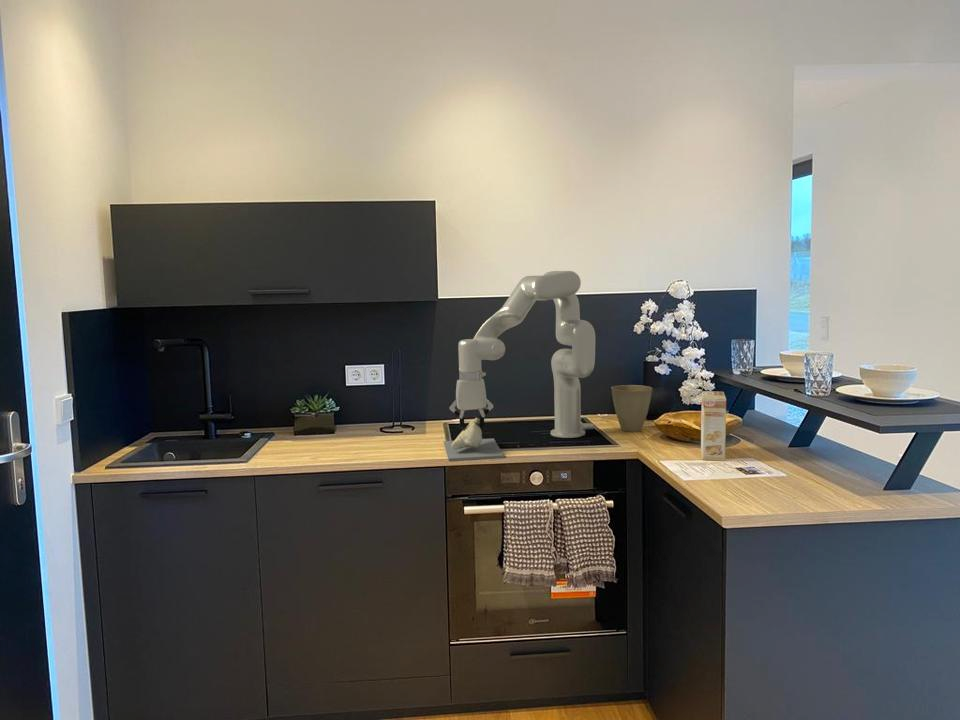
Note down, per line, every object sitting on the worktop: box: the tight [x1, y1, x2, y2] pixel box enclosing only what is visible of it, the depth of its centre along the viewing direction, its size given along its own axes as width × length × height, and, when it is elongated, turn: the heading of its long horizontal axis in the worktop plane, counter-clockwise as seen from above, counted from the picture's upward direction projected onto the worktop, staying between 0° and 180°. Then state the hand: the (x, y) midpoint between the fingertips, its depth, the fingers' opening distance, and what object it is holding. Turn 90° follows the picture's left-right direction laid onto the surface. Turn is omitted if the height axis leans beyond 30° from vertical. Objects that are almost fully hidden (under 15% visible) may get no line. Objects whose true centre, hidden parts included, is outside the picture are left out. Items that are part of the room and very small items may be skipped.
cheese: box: [452, 417, 483, 450], centre depth 234 cm, size 15×7×15 cm
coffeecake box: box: [700, 390, 727, 462], centre depth 221 cm, size 15×7×20 cm, turn 164°
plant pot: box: [610, 384, 653, 433], centre depth 259 cm, size 15×15×16 cm
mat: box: [443, 438, 505, 462], centre depth 236 cm, size 18×24×1 cm
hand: (472, 428), depth 235 cm, fingers closed on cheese, 5 cm apart
